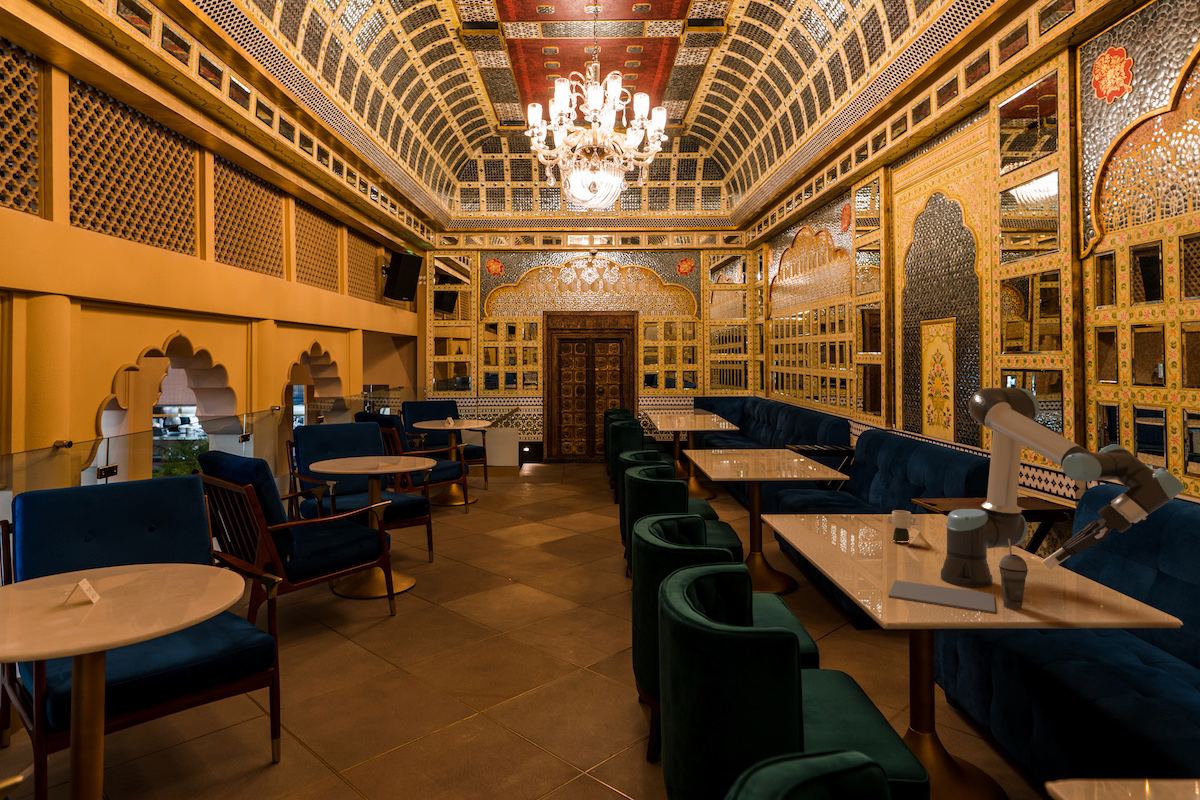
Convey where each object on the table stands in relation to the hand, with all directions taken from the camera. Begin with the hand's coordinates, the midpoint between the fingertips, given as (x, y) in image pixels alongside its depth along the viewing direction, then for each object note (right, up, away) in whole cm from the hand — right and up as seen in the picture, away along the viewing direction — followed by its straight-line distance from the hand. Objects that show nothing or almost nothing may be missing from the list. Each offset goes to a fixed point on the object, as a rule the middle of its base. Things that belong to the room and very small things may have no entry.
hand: (1046, 565), depth 185 cm
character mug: (-3, -12, +82) cm, 83 cm away
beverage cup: (-7, -14, +4) cm, 16 cm away
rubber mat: (-23, -13, +14) cm, 30 cm away
